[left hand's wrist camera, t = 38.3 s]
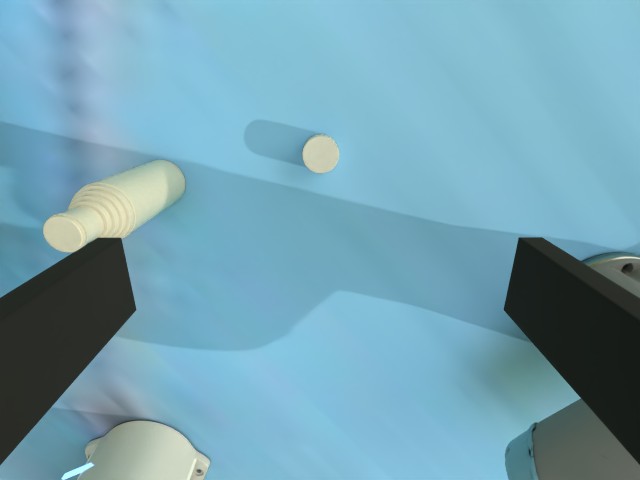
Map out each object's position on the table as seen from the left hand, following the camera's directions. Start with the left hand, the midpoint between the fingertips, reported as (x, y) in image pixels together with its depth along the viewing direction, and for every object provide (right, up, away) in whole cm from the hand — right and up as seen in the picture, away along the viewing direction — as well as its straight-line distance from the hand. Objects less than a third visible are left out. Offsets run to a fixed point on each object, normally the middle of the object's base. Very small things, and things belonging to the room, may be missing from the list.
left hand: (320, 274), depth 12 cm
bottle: (-18, +8, +29) cm, 35 cm away
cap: (0, +10, +26) cm, 28 cm away
